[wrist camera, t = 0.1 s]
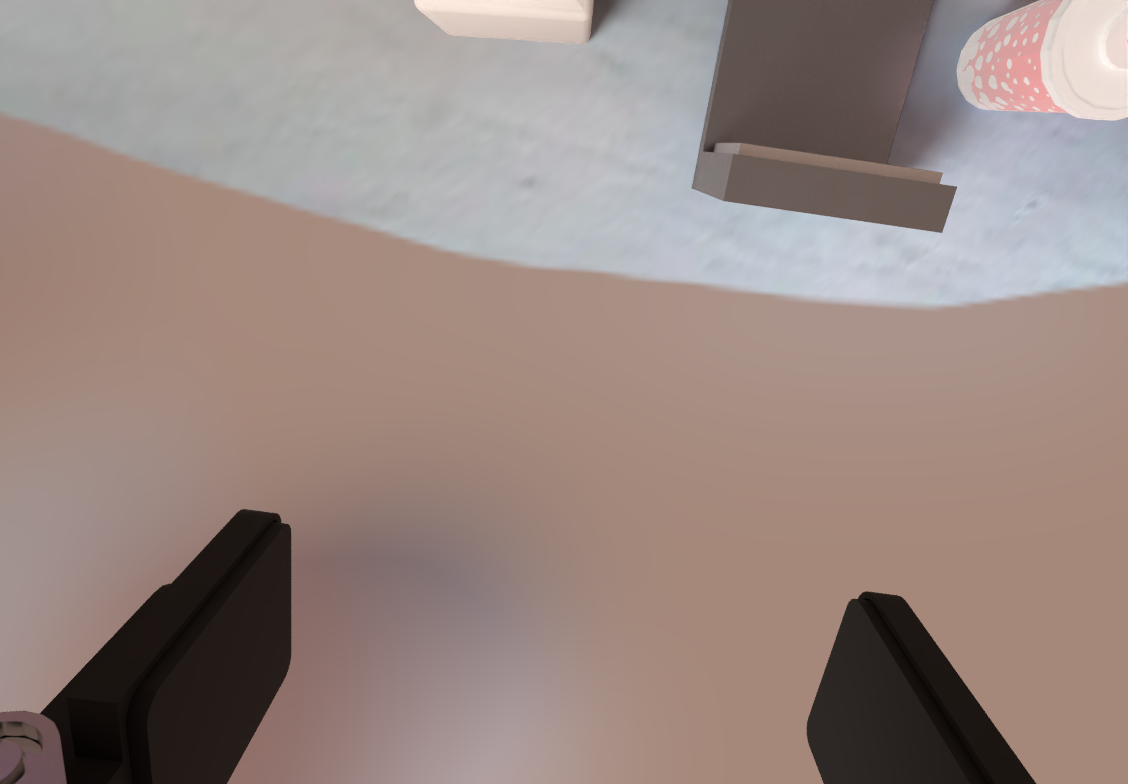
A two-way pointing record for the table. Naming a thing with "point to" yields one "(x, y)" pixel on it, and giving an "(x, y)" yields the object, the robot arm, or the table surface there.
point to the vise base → (818, 111)
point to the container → (513, 19)
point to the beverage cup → (1051, 60)
